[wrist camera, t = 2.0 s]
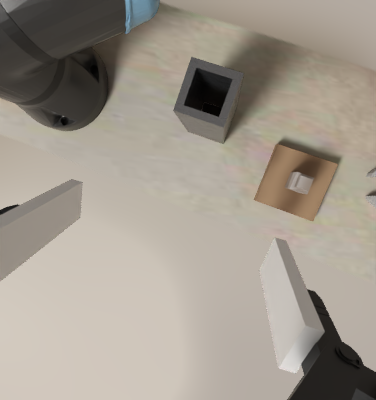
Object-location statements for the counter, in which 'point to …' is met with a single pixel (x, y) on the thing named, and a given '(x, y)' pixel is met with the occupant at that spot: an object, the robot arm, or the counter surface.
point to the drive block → (295, 182)
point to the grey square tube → (208, 98)
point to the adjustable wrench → (374, 199)
